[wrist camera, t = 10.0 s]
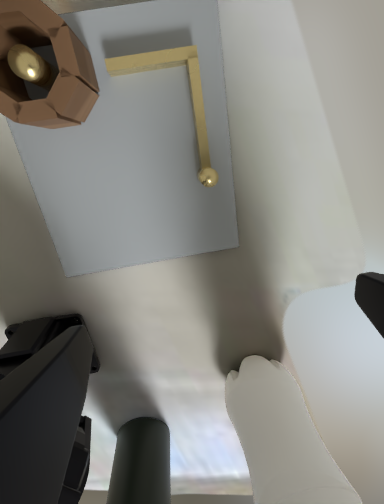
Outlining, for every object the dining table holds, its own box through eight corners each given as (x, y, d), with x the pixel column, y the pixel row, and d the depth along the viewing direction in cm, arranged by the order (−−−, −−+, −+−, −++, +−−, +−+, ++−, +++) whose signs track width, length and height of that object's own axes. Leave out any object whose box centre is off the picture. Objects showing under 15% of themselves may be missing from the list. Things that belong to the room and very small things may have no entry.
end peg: (68, 91, 16) (43, 76, 13) (45, 94, 16) (14, 81, 13) (60, 64, 16) (32, 42, 12) (36, 68, 15) (2, 46, 12)
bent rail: (214, 182, 19) (219, 185, 17) (138, 195, 19) (135, 200, 17) (199, 51, 16) (203, 38, 14) (108, 65, 16) (100, 54, 14)
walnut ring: (106, 120, 17) (90, 113, 13) (26, 133, 17) (-14, 128, 13) (82, 20, 15) (54, -23, 11) (-10, 33, 15) (-69, -6, 11)
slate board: (236, 243, 22) (239, 246, 21) (70, 273, 21) (66, 277, 21) (214, -2, 16) (216, -9, 15) (-20, 33, 15) (-29, 27, 15)
